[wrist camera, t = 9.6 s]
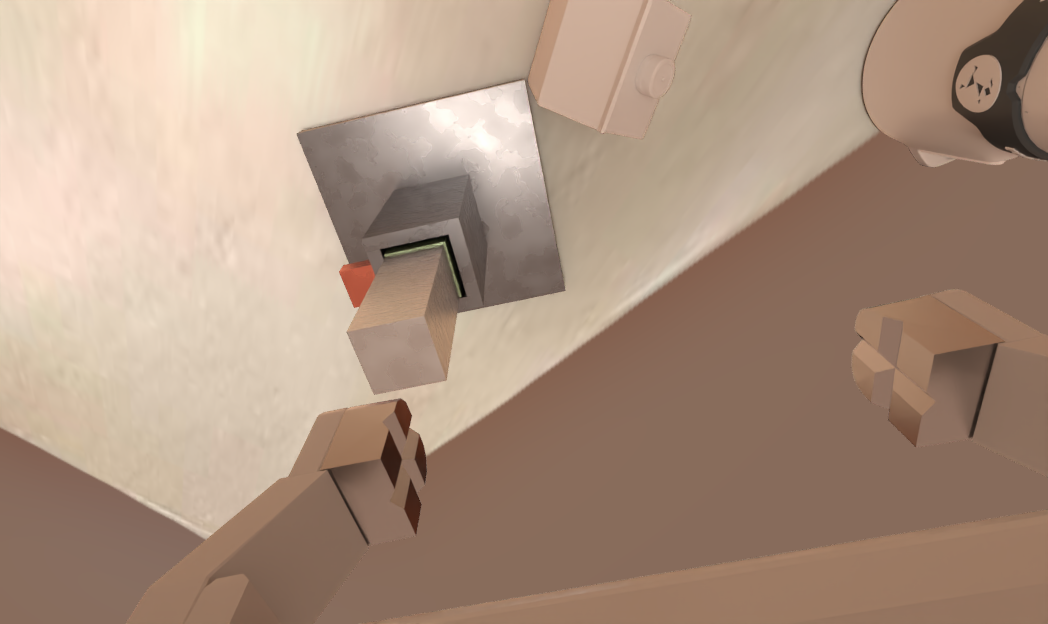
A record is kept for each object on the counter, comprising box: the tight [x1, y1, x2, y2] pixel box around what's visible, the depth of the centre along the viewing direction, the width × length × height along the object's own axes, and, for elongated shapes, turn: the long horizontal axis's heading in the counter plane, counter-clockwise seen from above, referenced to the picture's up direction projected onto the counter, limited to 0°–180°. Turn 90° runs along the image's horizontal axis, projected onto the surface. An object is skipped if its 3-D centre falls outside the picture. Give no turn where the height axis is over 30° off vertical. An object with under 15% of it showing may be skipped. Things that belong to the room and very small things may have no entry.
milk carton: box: [528, 0, 692, 139], centre depth 35 cm, size 7×7×19 cm
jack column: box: [347, 234, 462, 395], centre depth 36 cm, size 4×4×18 cm
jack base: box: [297, 79, 565, 313], centre depth 44 cm, size 20×20×14 cm
